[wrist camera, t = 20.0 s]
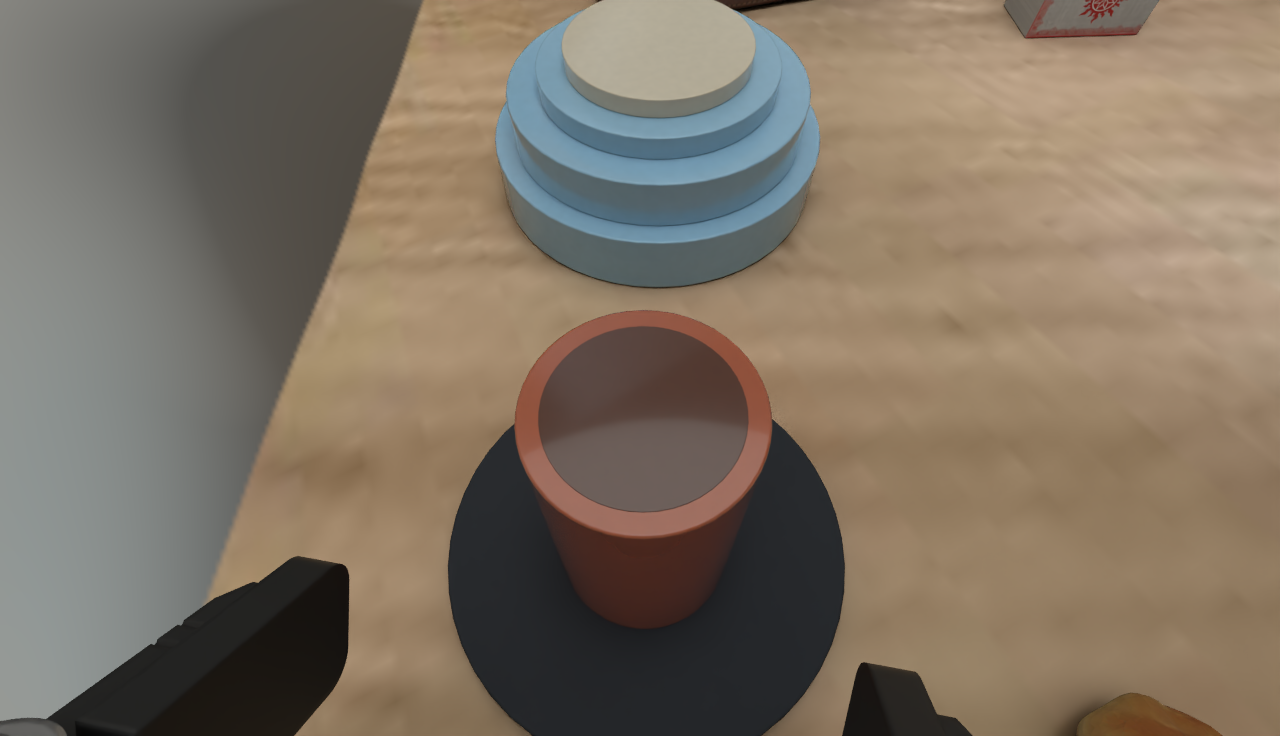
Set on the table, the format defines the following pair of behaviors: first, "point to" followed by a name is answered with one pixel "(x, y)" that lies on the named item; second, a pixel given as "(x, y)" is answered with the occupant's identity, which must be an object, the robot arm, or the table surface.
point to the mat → (657, 657)
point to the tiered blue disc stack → (657, 141)
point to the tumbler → (643, 459)
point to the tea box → (1079, 17)
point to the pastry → (1141, 719)
